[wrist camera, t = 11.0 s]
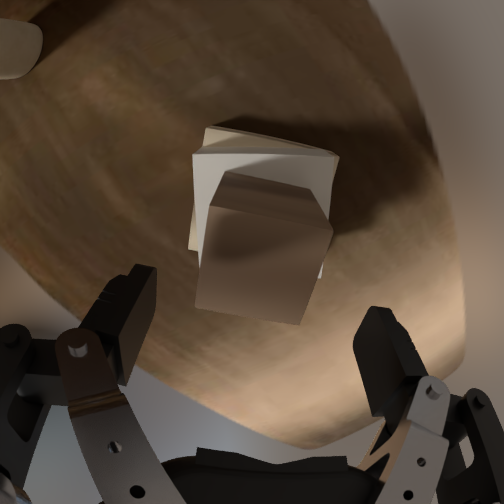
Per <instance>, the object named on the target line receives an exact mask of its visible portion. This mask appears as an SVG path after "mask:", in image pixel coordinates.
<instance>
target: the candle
mask: <svg viewBox="0 0 504 504" xmlns="http://www.w3.org/2000/svg"><path fill="white" fill-rule="evenodd" d="M42 45H43V34H42V31H41V29H40V28H39V27H38V26H37V25H35V24H32V23H27V22H22V21H15V20H9V19H1V18H0V79H13V78H19V77H22V76H24V75H25V74H27V73H28V72H29V71H30V70H31V69H32V68H33V66H34V65H35V63H36V62H37V60H38V58H39V56H40V53H41V50H42Z"/></svg>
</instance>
